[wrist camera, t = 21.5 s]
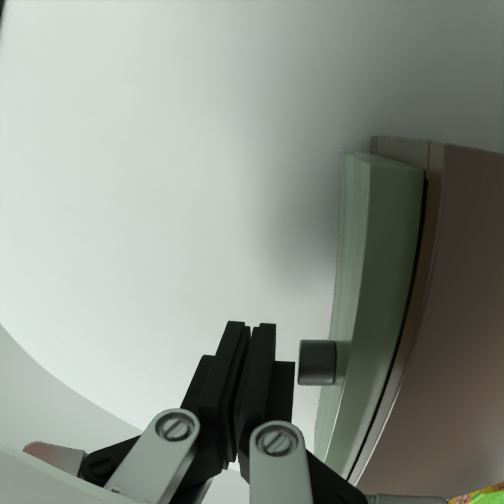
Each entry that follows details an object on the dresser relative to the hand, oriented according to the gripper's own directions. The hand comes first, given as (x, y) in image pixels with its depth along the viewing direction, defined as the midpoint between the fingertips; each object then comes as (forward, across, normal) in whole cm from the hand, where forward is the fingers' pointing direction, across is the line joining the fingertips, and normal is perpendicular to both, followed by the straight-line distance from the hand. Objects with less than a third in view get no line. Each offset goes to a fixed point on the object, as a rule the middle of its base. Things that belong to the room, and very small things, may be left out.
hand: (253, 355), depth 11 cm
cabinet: (+3, -11, 0) cm, 12 cm away
